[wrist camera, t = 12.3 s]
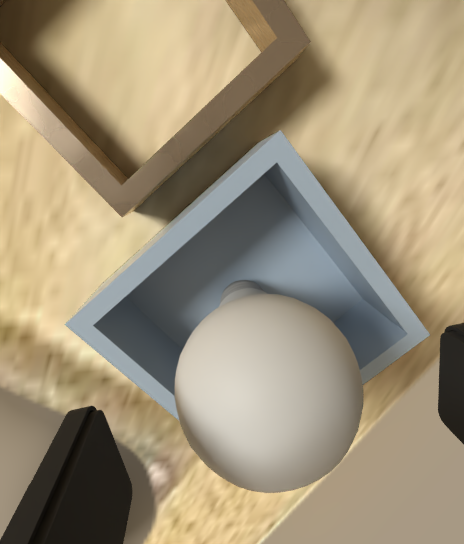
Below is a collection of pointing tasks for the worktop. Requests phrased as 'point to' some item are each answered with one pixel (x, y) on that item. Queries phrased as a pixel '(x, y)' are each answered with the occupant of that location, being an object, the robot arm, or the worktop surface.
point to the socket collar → (185, 143)
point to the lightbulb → (268, 391)
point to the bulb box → (246, 273)
